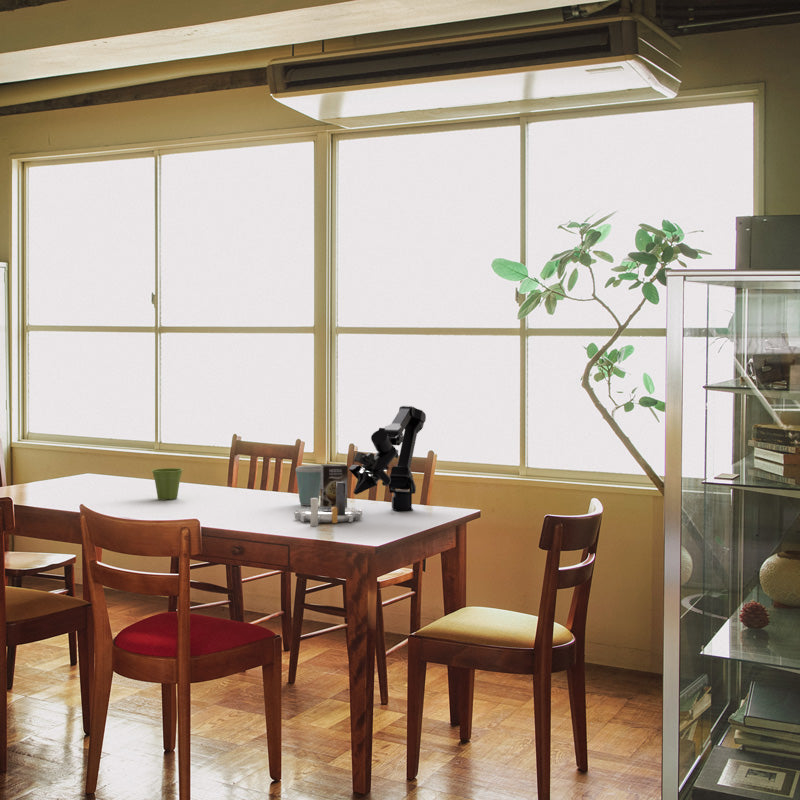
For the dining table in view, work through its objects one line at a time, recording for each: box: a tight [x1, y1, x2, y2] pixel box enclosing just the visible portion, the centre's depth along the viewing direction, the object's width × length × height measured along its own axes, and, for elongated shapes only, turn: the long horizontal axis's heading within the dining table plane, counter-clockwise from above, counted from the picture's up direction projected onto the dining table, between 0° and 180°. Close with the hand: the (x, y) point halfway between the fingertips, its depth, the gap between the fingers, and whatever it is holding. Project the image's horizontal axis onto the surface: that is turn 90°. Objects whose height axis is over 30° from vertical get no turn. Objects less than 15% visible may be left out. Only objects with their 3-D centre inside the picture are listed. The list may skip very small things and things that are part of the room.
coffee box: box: [319, 463, 349, 508], centre depth 353 cm, size 9×6×16 cm
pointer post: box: [310, 498, 319, 527], centre depth 320 cm, size 2×2×9 cm
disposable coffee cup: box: [295, 464, 322, 506], centre depth 362 cm, size 11×11×15 cm
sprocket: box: [294, 482, 363, 524], centre depth 333 cm, size 23×23×13 cm
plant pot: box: [151, 467, 184, 501], centre depth 374 cm, size 12×12×11 cm
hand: (354, 493), depth 329 cm, fingers closed
